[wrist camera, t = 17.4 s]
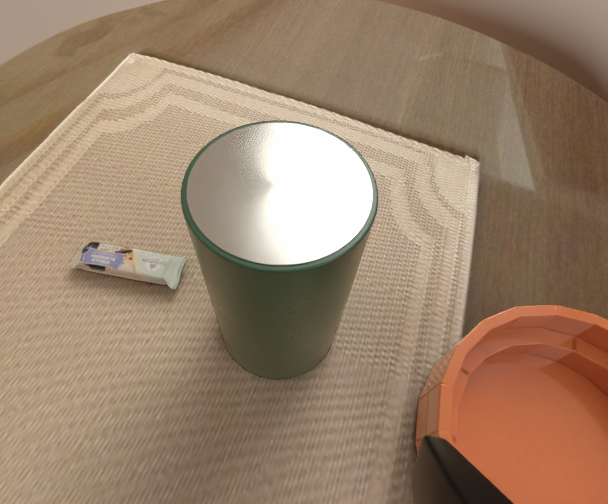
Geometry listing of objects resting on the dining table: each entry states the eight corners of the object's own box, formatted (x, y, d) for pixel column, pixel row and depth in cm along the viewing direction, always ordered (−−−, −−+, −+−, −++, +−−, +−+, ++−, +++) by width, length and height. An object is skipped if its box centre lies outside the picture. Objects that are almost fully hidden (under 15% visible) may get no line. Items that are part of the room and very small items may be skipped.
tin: (252, 402, 21) (229, 307, 11) (204, 300, 24) (152, 152, 14) (356, 345, 23) (418, 220, 13) (301, 257, 26) (316, 99, 16)
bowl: (450, 646, 17) (494, 682, 13) (391, 338, 24) (410, 310, 20) (739, 611, 18) (848, 636, 14) (602, 327, 25) (653, 299, 21)
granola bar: (190, 261, 25) (187, 252, 25) (177, 294, 24) (173, 286, 23) (88, 241, 26) (81, 232, 25) (70, 272, 25) (62, 264, 24)
